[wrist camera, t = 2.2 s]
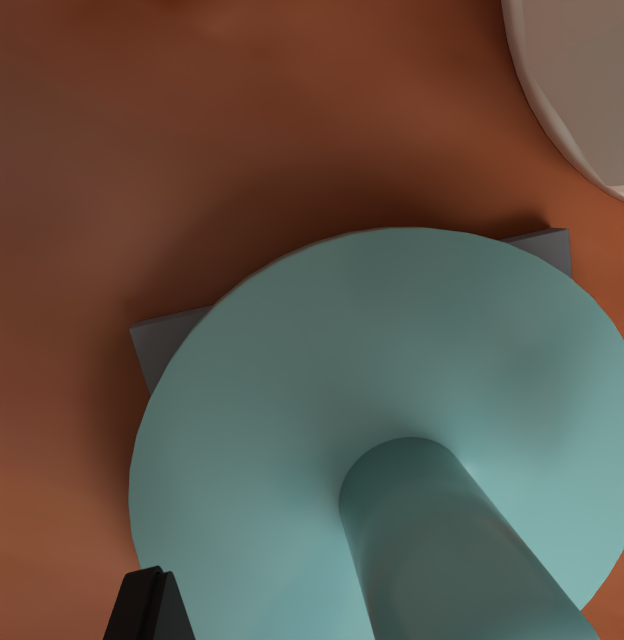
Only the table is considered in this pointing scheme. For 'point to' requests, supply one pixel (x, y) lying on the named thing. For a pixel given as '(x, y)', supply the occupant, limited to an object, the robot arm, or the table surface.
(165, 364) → the mat
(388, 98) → the table surface
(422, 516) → the lid
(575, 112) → the bowl
